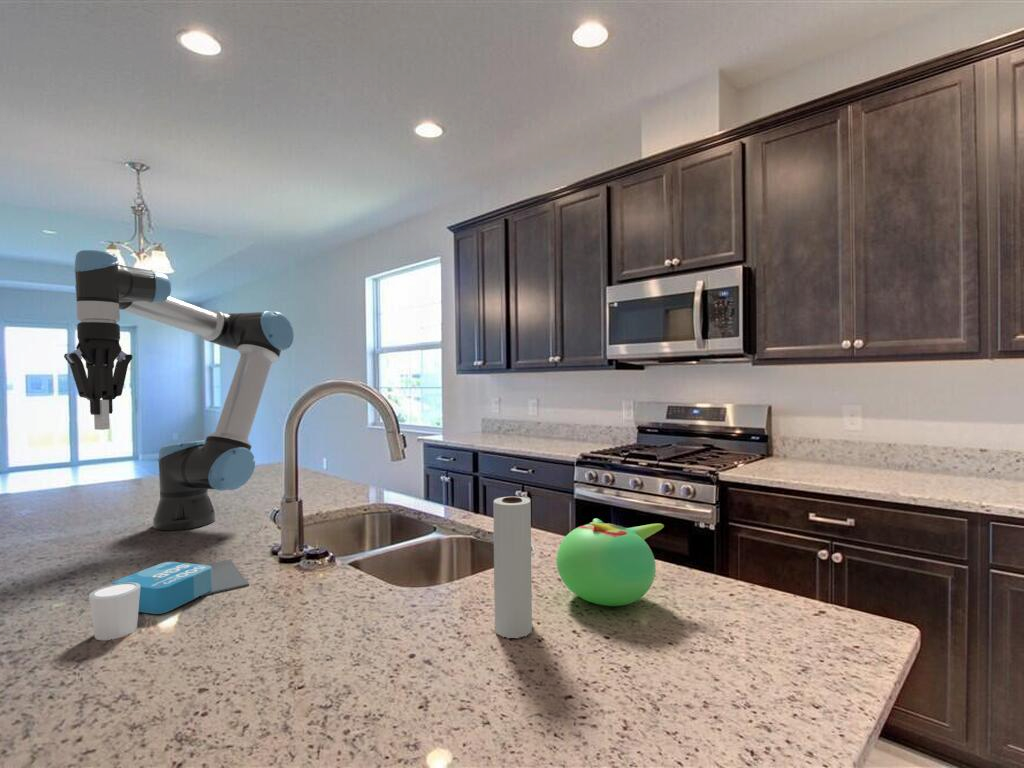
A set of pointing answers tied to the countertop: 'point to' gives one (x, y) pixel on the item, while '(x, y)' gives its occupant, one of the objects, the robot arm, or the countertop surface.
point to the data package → (170, 585)
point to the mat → (226, 577)
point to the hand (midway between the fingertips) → (102, 429)
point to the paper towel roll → (512, 566)
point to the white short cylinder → (115, 610)
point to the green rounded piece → (607, 562)
